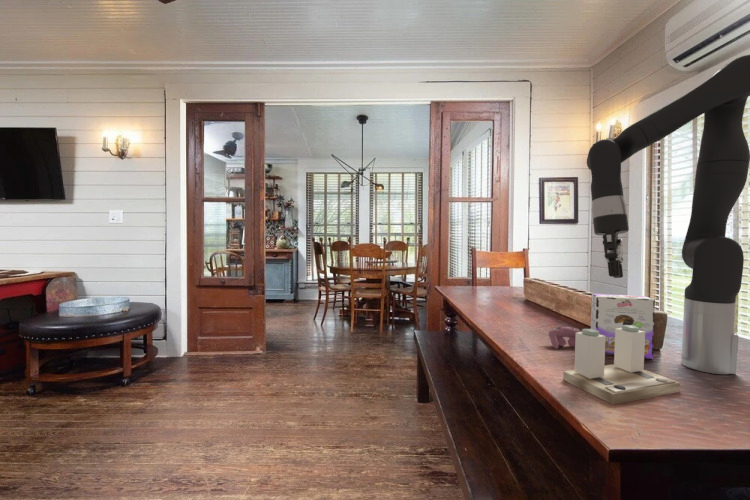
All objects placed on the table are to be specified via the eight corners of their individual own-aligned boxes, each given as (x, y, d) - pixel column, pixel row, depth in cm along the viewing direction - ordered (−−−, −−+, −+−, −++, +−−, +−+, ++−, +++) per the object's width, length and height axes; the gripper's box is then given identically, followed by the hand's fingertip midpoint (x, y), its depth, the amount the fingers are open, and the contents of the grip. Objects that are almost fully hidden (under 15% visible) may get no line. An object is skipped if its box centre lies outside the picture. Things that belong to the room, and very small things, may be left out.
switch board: (563, 379, 80) (563, 369, 80) (624, 370, 85) (624, 361, 85) (613, 404, 68) (613, 392, 68) (679, 391, 74) (680, 380, 74)
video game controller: (583, 352, 103) (579, 328, 106) (590, 349, 99) (586, 325, 102) (549, 350, 104) (545, 327, 107) (555, 348, 100) (551, 324, 103)
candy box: (644, 352, 98) (647, 295, 98) (653, 359, 93) (656, 299, 92) (589, 347, 103) (591, 292, 102) (594, 353, 97) (596, 295, 97)
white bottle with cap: (574, 371, 79) (575, 329, 78) (587, 369, 80) (589, 327, 79) (589, 378, 75) (591, 333, 74) (604, 376, 76) (605, 332, 76)
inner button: (613, 366, 82) (615, 325, 82) (626, 364, 83) (628, 324, 83) (630, 372, 78) (632, 329, 78) (643, 370, 80) (645, 328, 79)
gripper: (624, 208, 84) (632, 275, 81) (629, 218, 95) (636, 277, 92) (588, 213, 88) (595, 277, 86) (596, 222, 99) (603, 278, 97)
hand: (616, 277), depth 89 cm, fingers open, 8 cm apart
